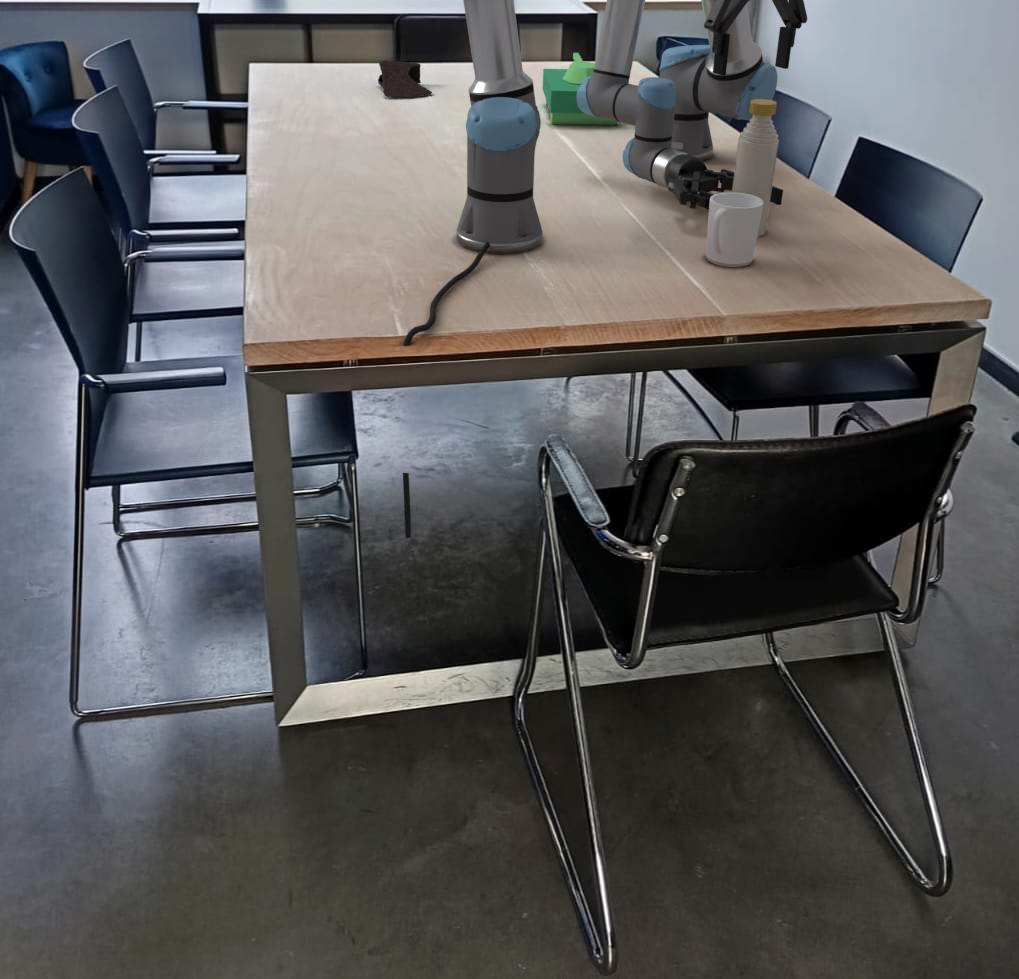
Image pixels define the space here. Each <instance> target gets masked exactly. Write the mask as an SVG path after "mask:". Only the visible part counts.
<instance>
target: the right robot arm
mask: <svg viewBox="0 0 1019 979" xmlns="http://www.w3.org/2000/svg"><path fill="white" fill-rule="evenodd" d="M700 2H701V7H702V11H703V17H704V18H703V19H704V22H705V21H706V19H707V17H708V15H709V12H710V10H711V8H712V6H713V4H714V2H715V0H700ZM645 3H646V0H606V3H605V8H604V14H603V19H602V24H601V29H600V34H599V39H598V46H597V50H596V54H595V61H594V63H595V66H594V70H593V75H592V76H589V77H586V78H585V79H584V80H583V81H582V82H581V85H580V87H579V88H578V91H577V104H578V106H579V108H580V110H581V111H582V112H584V113H586V114H589V115H592V116H595V117H597V118H604V119H608V120H613V121H618V123H622V124H624V125H625V124H626V125H630V126H634V137H632V138H631V139H630V140H629V141H628V142H627V143H626V146H625V148H624V150H623V151H622V163H623V166H624V167H625V169H626V170H627V172H629V173H631V174H633V175H634V176H636V177H637V178H639V179H642V180H646V181H648V182H650V183H653V184H655V185H657V186H659V187H662V188H664V189H667V191H668V192H670V193H672V194H673V195H674V197H675V198H676V201H677V202H678V203H679V205H681V206H686V205H687V203H689V206H688V207H689V209H692V210H694V209H697V206H698V207H701V208H703V209H705V210H707V211H709V204H710V197H711V196H713V195H714V194H713V193H711V192H716V193H725V191H728V192H732V186H733V178H734V171H732V170H728V169H726V168H721V169H720V171H714V170H713V169H708V167H707V165H706V163H705V162H704V161H707V160H709V159H711V158H712V157H713V154H714V144H713V140H712V139H713V138H712V133H711V129H710V124H709V115H710V114H715V115H719V116H723V117H728V118H732V119H736V120H738V121H739V120H745V121H750V119H752V116H753V114H751V113H750V112H749V109H750V103H751V100H755V99H766V100H772V101H773V100H774V96H775V93H776V91H777V86H778V71H777V68H776V66H775V65H772V64H771V63H769V62H766V63H765V62H764V57H763V51H762V48H761V46H760V45H759V44H758V43H756V42H754V41H753V36H752V30H751V24H750V23H751V22H750V15H749V9H748V2H747V3H746V5H745V6H744V8H743V9H742V10H741V12H740V13H739V15H738V16H737V17H736V19H735V20H734V22H733V23H732V25H731V26H730V27H729V29H728V30H727V32H726V33H727V34H730V40H729V50H728V59H727V68H726V75H719V74H716V73H713V65H714V55H715V53H713V52H712V45H713V32H712V31H710V30H709V29H706V34H707V40H708V44H694V45H693V44H691V45H682V46H681V45H680V46H674V47H670V48H667V49H665V50H664V51H663V53H662V55H661V61H660V67H659V70H658V71H659V76H658V77H657V76H652V77H651V76H650V77H644V78H641V79H640V80H639V81H638V85H637V84H633V83H632V84H631V83H630V78H631V72H632V67H633V63H634V58H635V54H636V53H635V52H636V47H637V44H638V38H639V34H640V29H641V23H642V19H643V13H644V8H645ZM719 184H720V185H719ZM719 186H720V187H719ZM783 195H784V189H782V188H779V187H777V186H774V185H772V192H771V199H770V203H772V204H774V205H777V206H780V205H782V203H783V202H782V201H783Z"/></svg>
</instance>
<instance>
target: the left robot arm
mask: <svg viewBox="0 0 1019 979" xmlns="http://www.w3.org/2000/svg"><path fill="white" fill-rule="evenodd" d="M462 1H463V7H464V13H465V21H466V26H467V34H468V40H469V46H470V52H471V60H472V66H473V71H474V81H473V82H472V83H471V85H470V87H469V88H468V95H469V96H468V97H469V103H470V107H469V109H468V111H467V117H466V118H467V119H466V122H465V131H466V192H467V193H466V198H465V202H464V205H463V209H462V211H461V214H460V218H459V220H458V224H457V227H456V241H457V243H458V244H459V245H461V246H462V247H464V248H466V249H468V250H470V251H475V252H478V253H477V255H476V256H475V258H474V260H473V261H472V262H471V264H469V266H468V267H466V268H465V269H464V270H463V271H462V272H460V273H458V274H457V275H455V276H454V277H453V278H451V279H450V280H449V281H448V282H447V283H446V284H444V286H443V287H442V288H440V290H438V293H436V295H435V296H434V297H433V299H432V301H431V303H430V305H429V317H428V320H427V321H426V323H423V324H420V325H416V326H414V327H412V328H411V329H410V330H409V331H408V332H407V334H406V336H405V338H404V340H403V344H402V346H404V347H409V346H410V345H411V342H412V340H413V338H414V337H415V336H416V335H417V334H419V333H422V332H426V331H428V330H430V329H431V328H432V327H433V325H434V324H435V322H436V319H437V318H436V317H437V306H438V304H439V302H440V301H441V299H442V298H443V297H444V295H445V294H446V293H447V292H448V291H450V289H452V287H454V286H455V285H456V284H458V282H459V281H461V280H463V279H464V278H466V277H467V276H469V275H470V274H471V273H472V272H473V271H474V270H475V269H476V268H477V267H478V265H480V264H479V263H480V262H481V260H482V259H483V257H484V256H485V254H497V255H499V254H500V255H506V254H507V255H508V254H517V253H524V252H527V251H530V250H533V249H536V248H538V247H539V246H540V245H541V244H542V243H543V229H542V224H541V221H540V220H541V219H540V218H539V214H538V213H539V212H538V210H537V206H536V204H535V199H534V184H535V181H534V180H535V157H536V156H535V154H536V146H537V142H538V139H539V136H540V132H541V126H542V125H541V124H542V123H541V122H542V121H541V114H540V111H539V108H538V106H537V103H536V95H535V87H534V80H533V78H531V77H530V76H529V75H528V74H527V73H526V72H525V71H524V69H523V62H522V54H521V47H520V46H521V45H520V39H519V38H520V37H519V32H518V24H517V23H518V22H517V17H516V9H515V1H514V0H462ZM749 1H750V0H715V2H714V4H713V6H712V8H711V10H710V12H709V15H708V17H707V19H706V21H705V20H704V23H703V28H704V29H706V30H707V29H709V30H710V31H712V32H713V45H712V52H713V53H715V55H714V65H713V73H716V74H719V75H726V68H727V59H728V50H729V40H730V34H727V33H726V32H727V30H728V29H729V27H730V26H731V25H732V23H733V22H734V20H735V19H736V17H737V16H738V15H739V13H740V12H741V10H742V9H743V8H744V6H745V5H746V3H747V4H748V2H749ZM771 2H772V3H773V5H774V7H775V9H776V11H777V14H778V15H779V17H780V19H781V21H782V22H783V24H784V26H780V27H779V33H778V38H777V40H778V41H777V48H776V56H775V64H774V67H775V68H776V67H777V68H779V69H784V70H787V69H789V65H790V58H791V52H792V48H794V46H795V40H796V35H797V34H796V33H797V29H801V28H802V25H803V24H806V23H807V22H808V14H807V10H806V6H805V1H804V0H771ZM402 483H403V484H402V486H403V488H402V489H403V508H404V511H403V512H404V536H405V538H406V539H410V538H412V522H411V520H412V519H411V517H412V516H411V496H410V494H411V492H410V473H409V472H402Z"/></svg>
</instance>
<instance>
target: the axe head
mask: <svg viewBox="0 0 1019 979" xmlns="http://www.w3.org/2000/svg"><path fill="white" fill-rule="evenodd" d="M378 66H379V68H380V72H381V74H379V75H378V79H377V84H378V85H379V86H380V87H381V88H382V89H383V95H384V96H385V97H388V98H394V99H395V98H396V99H403V98H405V99H406V98H407V99H411V98H418V97H425V96H429V95H432V94H433V91H431V90H430V89H428V88H427V87H425V86H422V85H421V84H422V82H421V63H419V62H410V61H408V62H407V61H397V60H388V59H387V60H380V61H379V62H378Z"/></svg>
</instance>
